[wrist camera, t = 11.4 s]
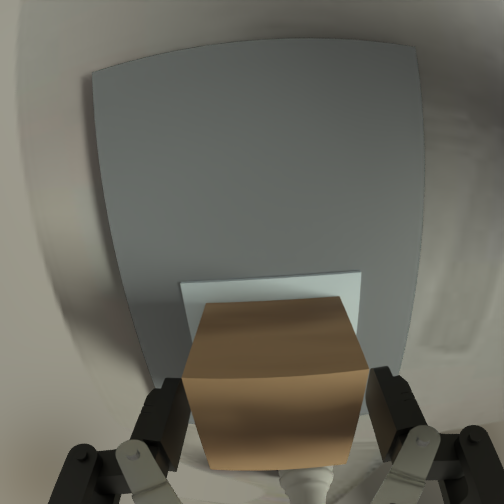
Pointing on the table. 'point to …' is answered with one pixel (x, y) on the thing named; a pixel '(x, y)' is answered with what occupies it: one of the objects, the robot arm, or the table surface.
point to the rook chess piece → (306, 484)
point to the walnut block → (275, 383)
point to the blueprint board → (264, 185)
